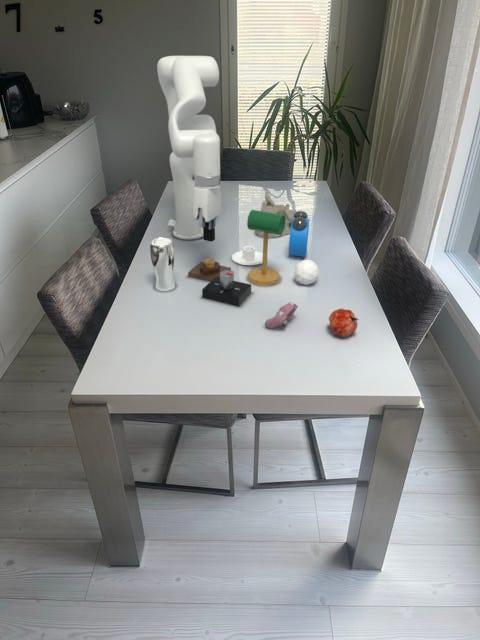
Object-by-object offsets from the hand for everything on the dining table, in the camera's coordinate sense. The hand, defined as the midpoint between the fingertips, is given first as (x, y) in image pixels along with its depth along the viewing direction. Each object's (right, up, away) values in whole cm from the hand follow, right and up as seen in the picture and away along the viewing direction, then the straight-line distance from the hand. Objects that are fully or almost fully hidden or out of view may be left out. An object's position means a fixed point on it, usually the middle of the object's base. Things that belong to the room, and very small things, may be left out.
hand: (209, 239), depth 143 cm
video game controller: (+21, -26, -16) cm, 37 cm away
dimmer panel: (+6, -18, -4) cm, 19 cm away
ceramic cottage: (+24, +10, +40) cm, 47 cm away
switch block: (0, -10, +7) cm, 12 cm away
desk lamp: (+17, -12, +5) cm, 21 cm away
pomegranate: (+36, -29, -20) cm, 51 cm away
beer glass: (-14, -15, 0) cm, 20 cm away
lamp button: (0, -7, +5) cm, 9 cm away
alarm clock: (+30, -2, +21) cm, 37 cm away
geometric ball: (+30, -13, +3) cm, 33 cm away
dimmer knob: (+6, -15, -6) cm, 17 cm away
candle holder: (+13, -4, +17) cm, 22 cm away
